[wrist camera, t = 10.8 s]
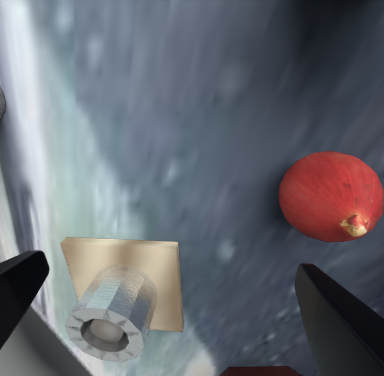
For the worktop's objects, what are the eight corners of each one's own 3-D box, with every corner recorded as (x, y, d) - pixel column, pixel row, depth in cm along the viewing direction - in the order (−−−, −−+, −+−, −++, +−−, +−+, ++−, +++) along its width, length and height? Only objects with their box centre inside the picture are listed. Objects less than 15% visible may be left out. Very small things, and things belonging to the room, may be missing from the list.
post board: (178, 242, 22) (164, 291, 16) (183, 323, 27) (174, 383, 21) (66, 237, 23) (19, 281, 18) (90, 315, 28) (59, 370, 22)
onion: (359, 152, 17) (467, 197, 10) (322, 215, 19) (387, 290, 12) (286, 132, 17) (338, 162, 10) (258, 197, 19) (283, 261, 12)
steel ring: (160, 315, 25) (147, 364, 20) (101, 310, 26) (76, 357, 21) (154, 266, 22) (137, 311, 18) (88, 263, 23) (56, 305, 18)
